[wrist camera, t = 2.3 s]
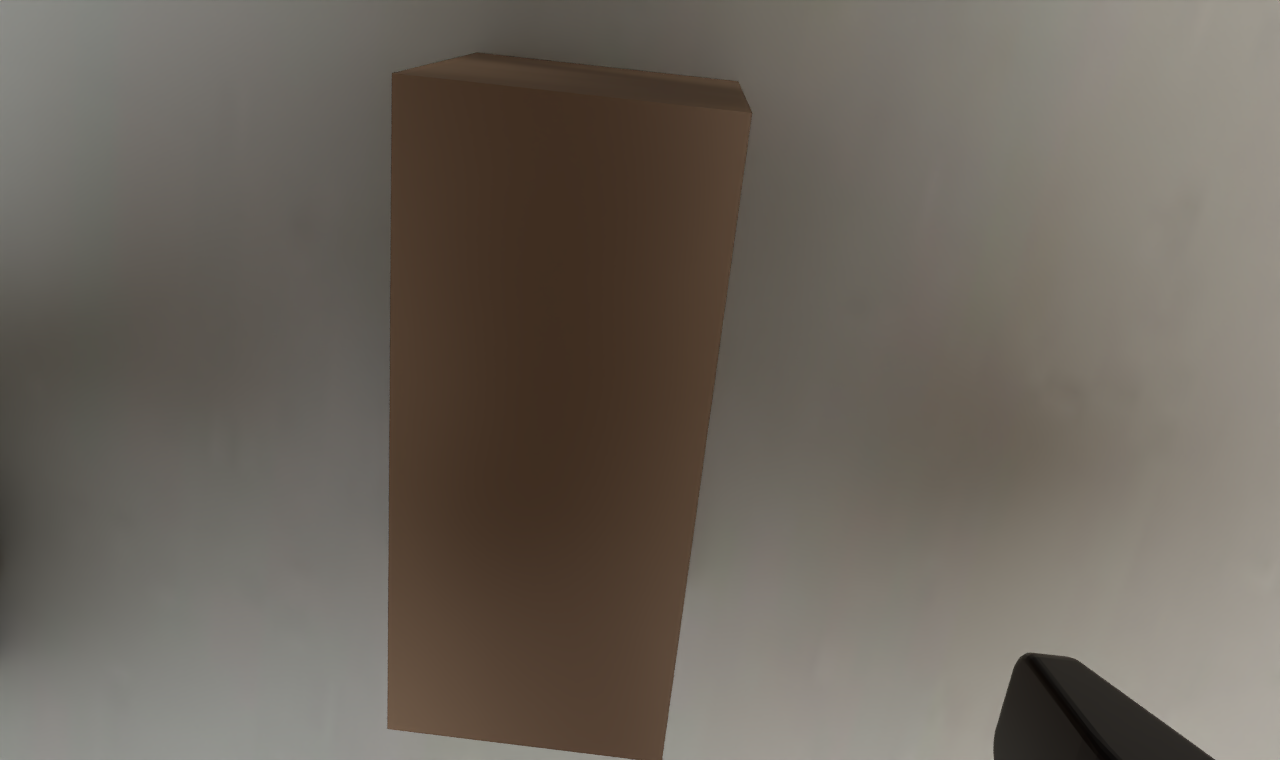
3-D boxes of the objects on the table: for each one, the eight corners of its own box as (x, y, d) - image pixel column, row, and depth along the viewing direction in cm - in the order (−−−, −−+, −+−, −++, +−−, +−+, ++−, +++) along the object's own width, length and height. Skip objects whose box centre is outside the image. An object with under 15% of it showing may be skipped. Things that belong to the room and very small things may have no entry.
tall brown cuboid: (460, 559, 16) (387, 728, 12) (479, 52, 13) (392, 72, 9) (671, 585, 16) (661, 762, 12) (737, 80, 13) (751, 112, 9)
